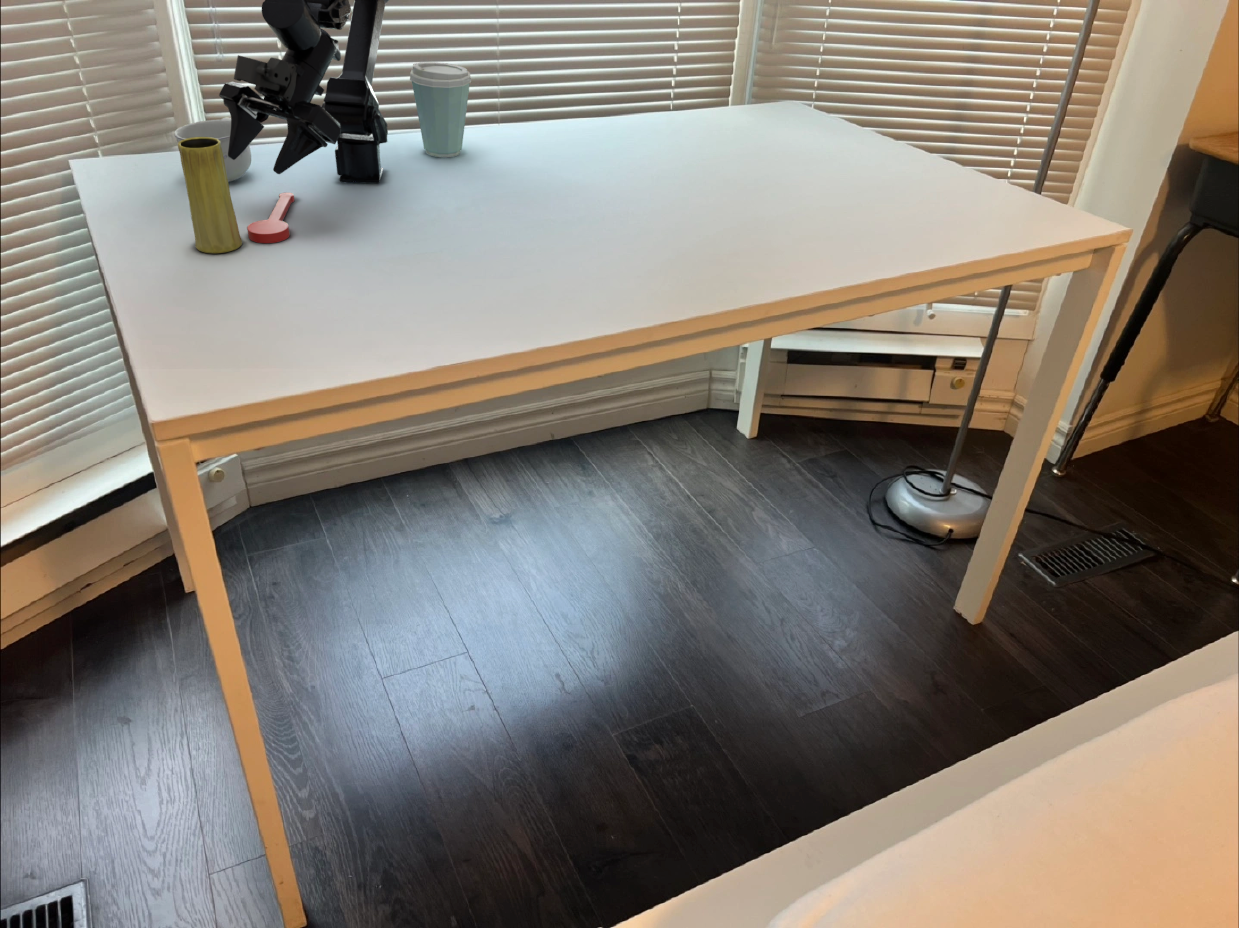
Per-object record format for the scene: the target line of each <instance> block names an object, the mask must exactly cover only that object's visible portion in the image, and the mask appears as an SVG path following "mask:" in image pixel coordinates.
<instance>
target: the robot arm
mask: <svg viewBox="0 0 1239 928" xmlns="http://www.w3.org/2000/svg"><path fill="white" fill-rule="evenodd" d="M389 1H390V0H353V5H352V6H351V4H350V0H264V1H263V2H262V3H261V14H262V18H263V20H264V21H265V22H266V24H267V25H268V27H269V28H270V29H271V31H272V32H273V34H274V35H275V36H276V38H277V39H278V41H279V42H280V43H281V44H282V46H284V48H285V49H286V51H285V52H284V54H283V57H282V58H281V59H280V58H276V57H270V58H269V59H268V61H267V62H266V61H261V60H258V59H254V58H250V57H247V56H243V55H239V54H238V55H237V58H236V63H235V69H234V74H233V80H234V81H237V82H234V81H228V82H225V83H224V84H223V86H222V88H221V90H220V92H219V94H218V96H219V98H221V99H222V100H223V101H222V102H223V105H224V106H225V107H227V110H228V112H229V115H230V118H231V131H230V140H229V149H228V157H230V158H231V159H233V160H235V159H236V158H237V157H238V156H239V155H240V154H241V153H242V152H243V151H244V150H245V149H246V148H247V146H248V145H251V143H252V142H253V141H254V140H255V138H256V137H258V135H259V134H260V133H261V132H262V131H263V129H264V128H265V125H263V122H265V121H267V120H268V119H269V117H274V118H277V119H280V120H284V121H286V126H287V134H286V137H285V139H284V142H283V144H282V146H281V148H280V150H279V152H278V155H277V156H276V158H275V161H274V162H275V163H274V165H273V168H272V170H273V173H275V174H276V175H281V174H283V173H284V172H285V171H287V170H288V169H290V168H291V167H293V166H294V165H296V164H297V163H299V162H300V161H301V160H303V159H305V158H306V157H307V156H309V155H311V154H312V153H314V152H316V151H317V150H319V149H321V148H328V145H329V144H331V145H336V144H337V146H336V147H335V149H334V157H335V165H336V174H337V175H338V176H339V178H338V181H339V182H340V183H363V184H365V183H366V184H367V183H368V184H377V183H380V182H381V180H382V176H383V173H384V168H383V167H382V162H381V152H380V145H381V144H386V143H388V133H389V131H388V123H387V121H386V120H385V118H384V116H383V114H382V112H381V111H380V109H379V107H380V103H379V101H378V99H377V97H376V93H375V92H374V89H373V79H374V75H375V68H376V62H377V57H378V56H377V55H378V50H379V45H380V43H379V42H380V38H381V32H382V26H383V20H384V15H385V8H386V4H387V3H388V2H389ZM350 14H351V17H350ZM349 19H350V24H349V29H348V35H347V40H346V47H345V51H344V52H345V53H344V58H343V64H342V69H341V74H340V75H338V77H329V78H328V80H327V81H326V89H324V87H323V86H321V83H322V80H323V79H324V77H325V75H326V74H327V71H328V69H329V67H330V65H331V63H332V61H333V60H334V61H337V62H340V61H341V59H342V53H341V50H340V47H339V40H338V39H335V38H333V37H331V35H330V34H329V33H328V31H326V30H325V29H327V30H336V31H340V30H343V29H344V27H345V26H346V24H347V22H348V21H349ZM241 81H243V82H246V83H248V84H251V85H254V88H251V86H249V85H247V84H244V83H243V84H242V83H239V82H241ZM325 90H326V91H325ZM324 92H325V94H324V95H325V96H324V98H323V103H322V105H321V104H317V103H314V102H312V100H313V98H314V97H315V95H316V96H320V97H322V96H323V93H324ZM260 95H262V96H263V97H262V96H260Z"/></svg>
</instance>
